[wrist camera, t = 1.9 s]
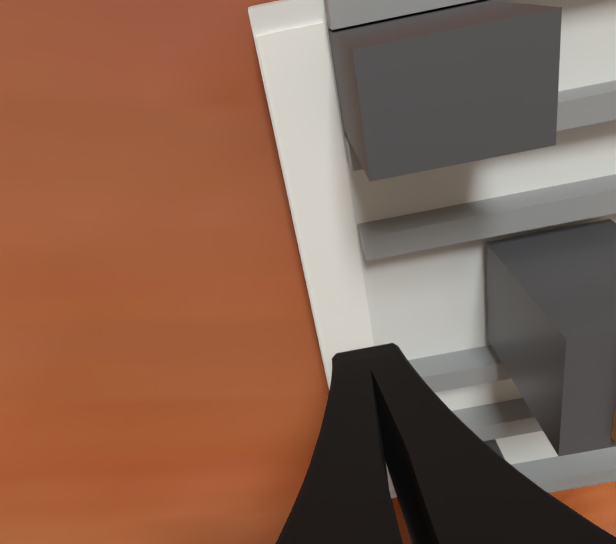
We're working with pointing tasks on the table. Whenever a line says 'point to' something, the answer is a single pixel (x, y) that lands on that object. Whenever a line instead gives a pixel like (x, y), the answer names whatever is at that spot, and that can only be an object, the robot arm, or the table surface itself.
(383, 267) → the panel
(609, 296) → the block
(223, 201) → the table surface
